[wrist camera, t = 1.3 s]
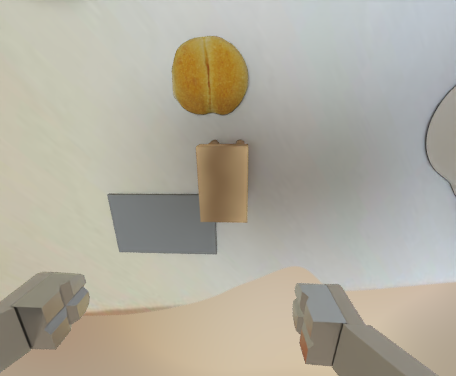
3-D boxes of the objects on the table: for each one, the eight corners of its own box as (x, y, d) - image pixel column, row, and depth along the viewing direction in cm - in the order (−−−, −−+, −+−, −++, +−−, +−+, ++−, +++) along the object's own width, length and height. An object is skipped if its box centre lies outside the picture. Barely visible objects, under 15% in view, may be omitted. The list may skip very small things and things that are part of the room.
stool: (246, 138, 28) (248, 146, 20) (245, 194, 30) (247, 222, 22) (208, 138, 28) (195, 146, 20) (211, 194, 31) (200, 221, 23)
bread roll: (246, 114, 27) (247, 114, 23) (178, 114, 28) (168, 113, 24) (249, 39, 24) (250, 25, 21) (173, 40, 25) (161, 27, 21)
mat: (214, 194, 31) (214, 195, 30) (216, 252, 34) (216, 254, 33) (108, 193, 32) (107, 194, 31) (120, 250, 35) (119, 252, 34)
